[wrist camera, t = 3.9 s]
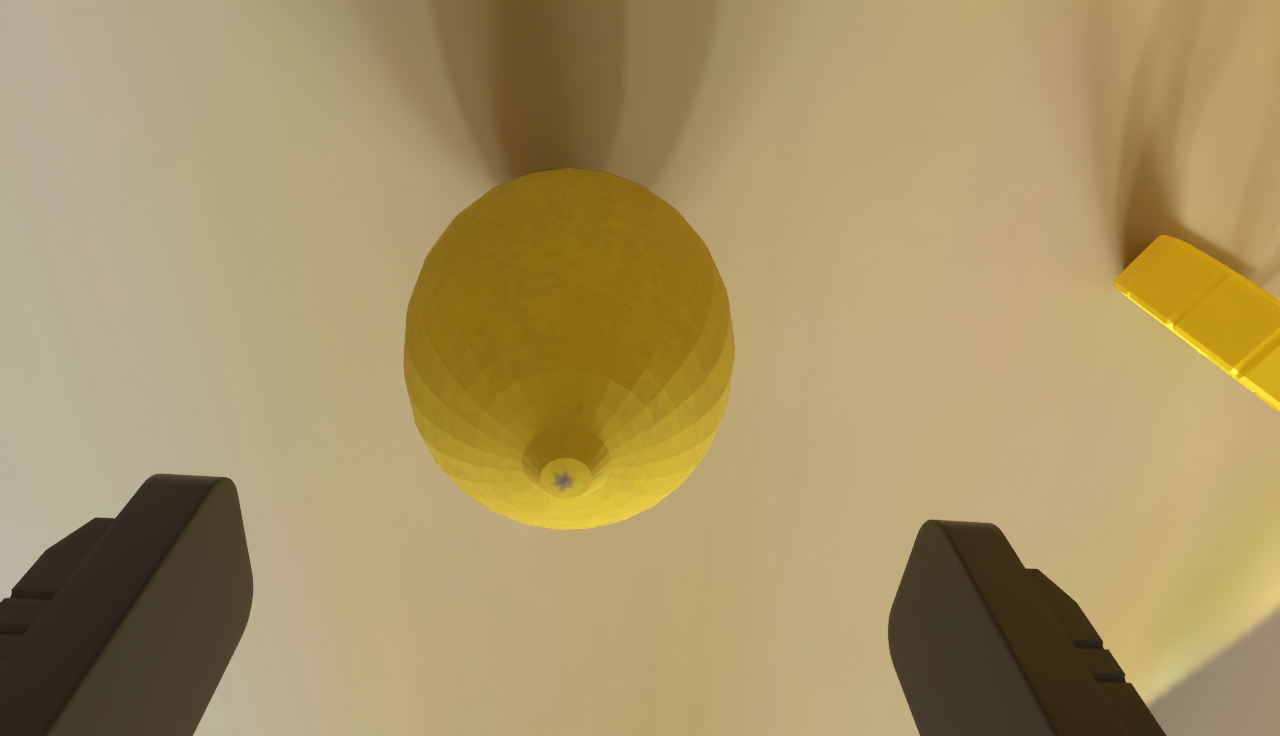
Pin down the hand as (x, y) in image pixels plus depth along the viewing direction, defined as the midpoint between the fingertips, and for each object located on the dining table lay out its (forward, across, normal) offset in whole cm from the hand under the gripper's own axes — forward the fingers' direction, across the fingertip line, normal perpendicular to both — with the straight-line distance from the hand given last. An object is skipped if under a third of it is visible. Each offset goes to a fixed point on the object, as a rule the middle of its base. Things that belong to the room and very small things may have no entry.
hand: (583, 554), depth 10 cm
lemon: (+9, 0, 0) cm, 9 cm away
